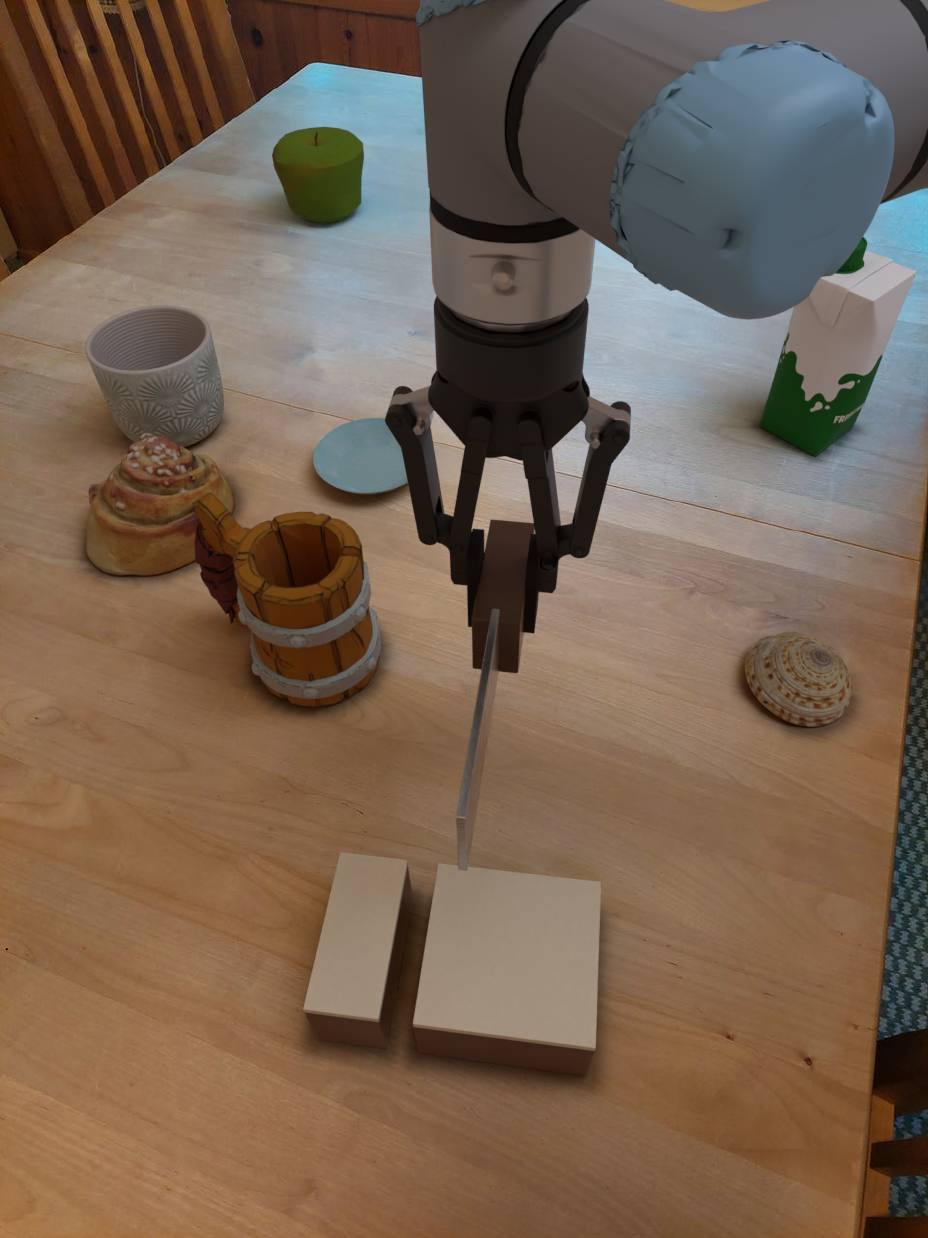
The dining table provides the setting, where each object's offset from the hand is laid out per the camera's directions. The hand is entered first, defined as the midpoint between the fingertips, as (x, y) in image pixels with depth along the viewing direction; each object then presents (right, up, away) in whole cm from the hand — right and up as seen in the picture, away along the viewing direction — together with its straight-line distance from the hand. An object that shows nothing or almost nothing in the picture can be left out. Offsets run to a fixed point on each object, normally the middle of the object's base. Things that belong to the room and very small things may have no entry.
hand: (503, 614), depth 61 cm
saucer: (-12, +15, +32) cm, 38 cm away
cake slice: (-9, -23, -1) cm, 25 cm away
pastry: (-32, +9, +28) cm, 43 cm away
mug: (-17, -3, +17) cm, 24 cm away
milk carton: (+34, +20, +36) cm, 53 cm away
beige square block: (0, -24, -2) cm, 24 cm away
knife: (-1, -6, -4) cm, 7 cm away
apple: (-23, +59, +70) cm, 94 cm away
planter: (-34, +21, +38) cm, 55 cm away
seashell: (+25, -6, +14) cm, 29 cm away
